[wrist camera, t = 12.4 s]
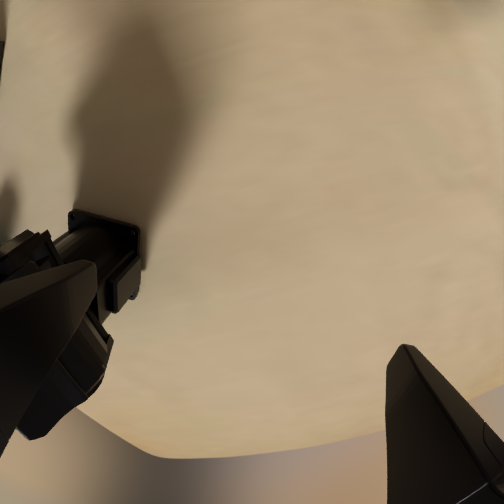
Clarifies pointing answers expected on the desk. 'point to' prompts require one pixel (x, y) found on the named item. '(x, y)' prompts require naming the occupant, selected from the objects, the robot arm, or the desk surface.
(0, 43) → the phone stand
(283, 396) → the desk surface
